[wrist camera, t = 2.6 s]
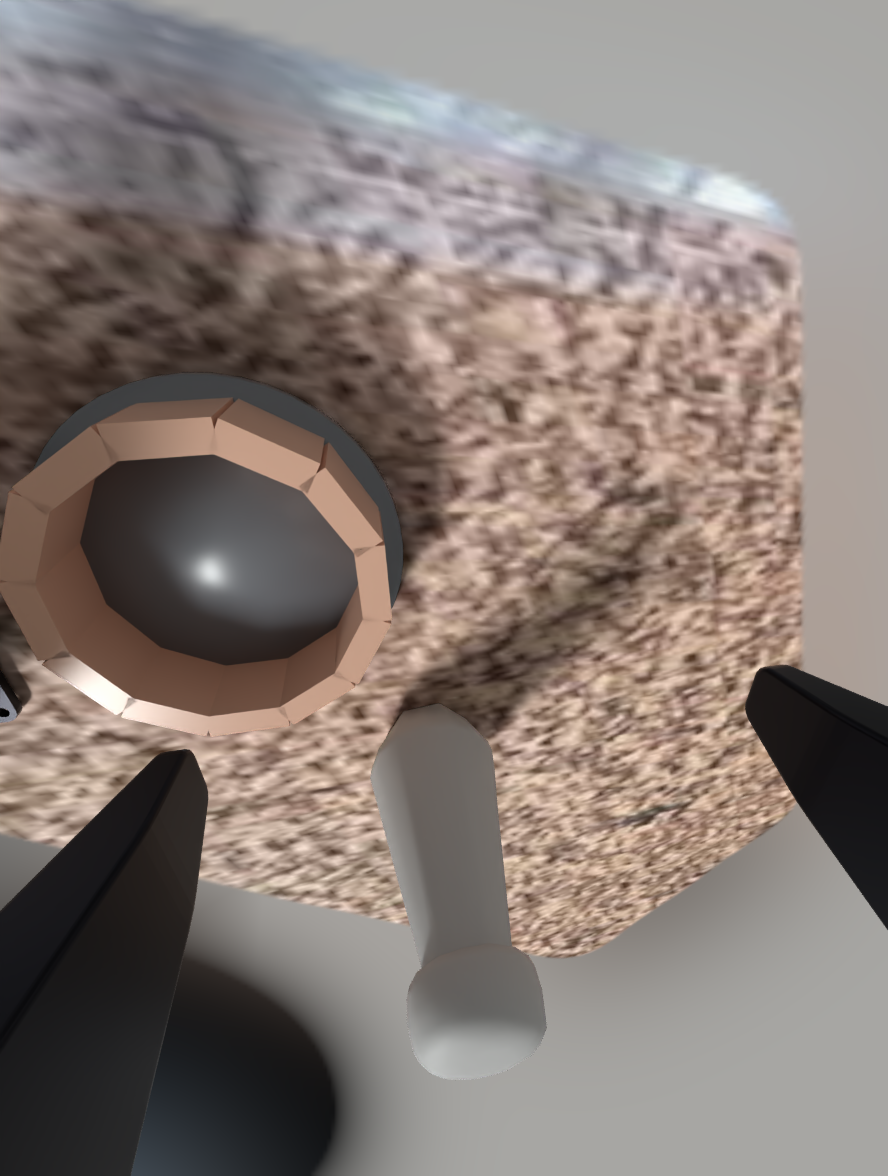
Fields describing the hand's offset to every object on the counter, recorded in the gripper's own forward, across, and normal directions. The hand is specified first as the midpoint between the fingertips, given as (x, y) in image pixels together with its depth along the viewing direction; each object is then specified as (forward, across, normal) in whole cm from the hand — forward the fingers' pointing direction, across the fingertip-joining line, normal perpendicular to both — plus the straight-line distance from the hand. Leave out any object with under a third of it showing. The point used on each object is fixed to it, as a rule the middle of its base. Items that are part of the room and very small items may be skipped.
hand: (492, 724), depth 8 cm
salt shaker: (+13, 0, +14) cm, 19 cm away
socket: (+13, +7, +3) cm, 15 cm away
